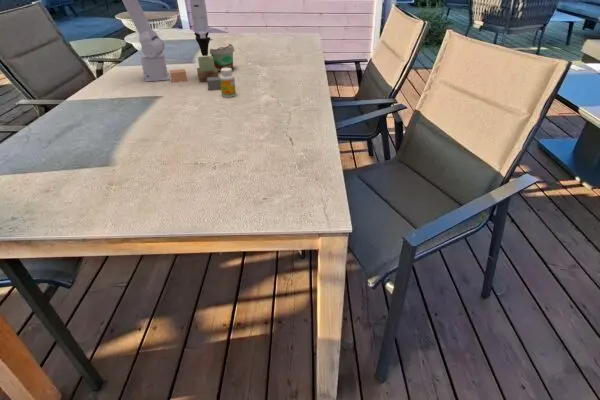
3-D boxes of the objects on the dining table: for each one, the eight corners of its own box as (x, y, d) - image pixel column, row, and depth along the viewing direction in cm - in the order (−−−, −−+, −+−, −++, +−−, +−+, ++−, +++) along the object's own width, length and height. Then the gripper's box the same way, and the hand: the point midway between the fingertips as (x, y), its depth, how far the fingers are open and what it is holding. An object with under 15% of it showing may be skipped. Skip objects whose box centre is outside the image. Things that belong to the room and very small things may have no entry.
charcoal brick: (208, 90, 149) (207, 80, 147) (208, 87, 152) (207, 77, 150) (223, 89, 150) (222, 79, 148) (223, 86, 153) (222, 76, 151)
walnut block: (199, 83, 157) (198, 73, 155) (198, 77, 163) (196, 68, 161) (219, 81, 159) (218, 71, 156) (217, 75, 165) (215, 66, 163)
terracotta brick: (172, 82, 156) (170, 73, 154) (171, 80, 159) (169, 70, 157) (187, 81, 158) (185, 71, 156) (185, 78, 161) (184, 68, 159)
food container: (221, 75, 165) (219, 51, 159) (212, 72, 168) (209, 48, 162) (241, 68, 173) (239, 45, 167) (232, 66, 176) (229, 43, 170)
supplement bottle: (218, 95, 144) (215, 70, 138) (227, 91, 148) (224, 66, 142) (230, 98, 142) (227, 72, 136) (238, 94, 146) (236, 68, 140)
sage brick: (200, 72, 156) (198, 59, 153) (199, 69, 159) (197, 57, 156) (215, 70, 158) (213, 58, 155) (213, 68, 161) (212, 56, 158)
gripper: (211, 19, 142) (215, 57, 150) (208, 13, 154) (212, 48, 162) (192, 20, 141) (197, 58, 149) (190, 14, 152) (195, 49, 160)
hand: (204, 53), depth 155 cm, fingers open, 7 cm apart
